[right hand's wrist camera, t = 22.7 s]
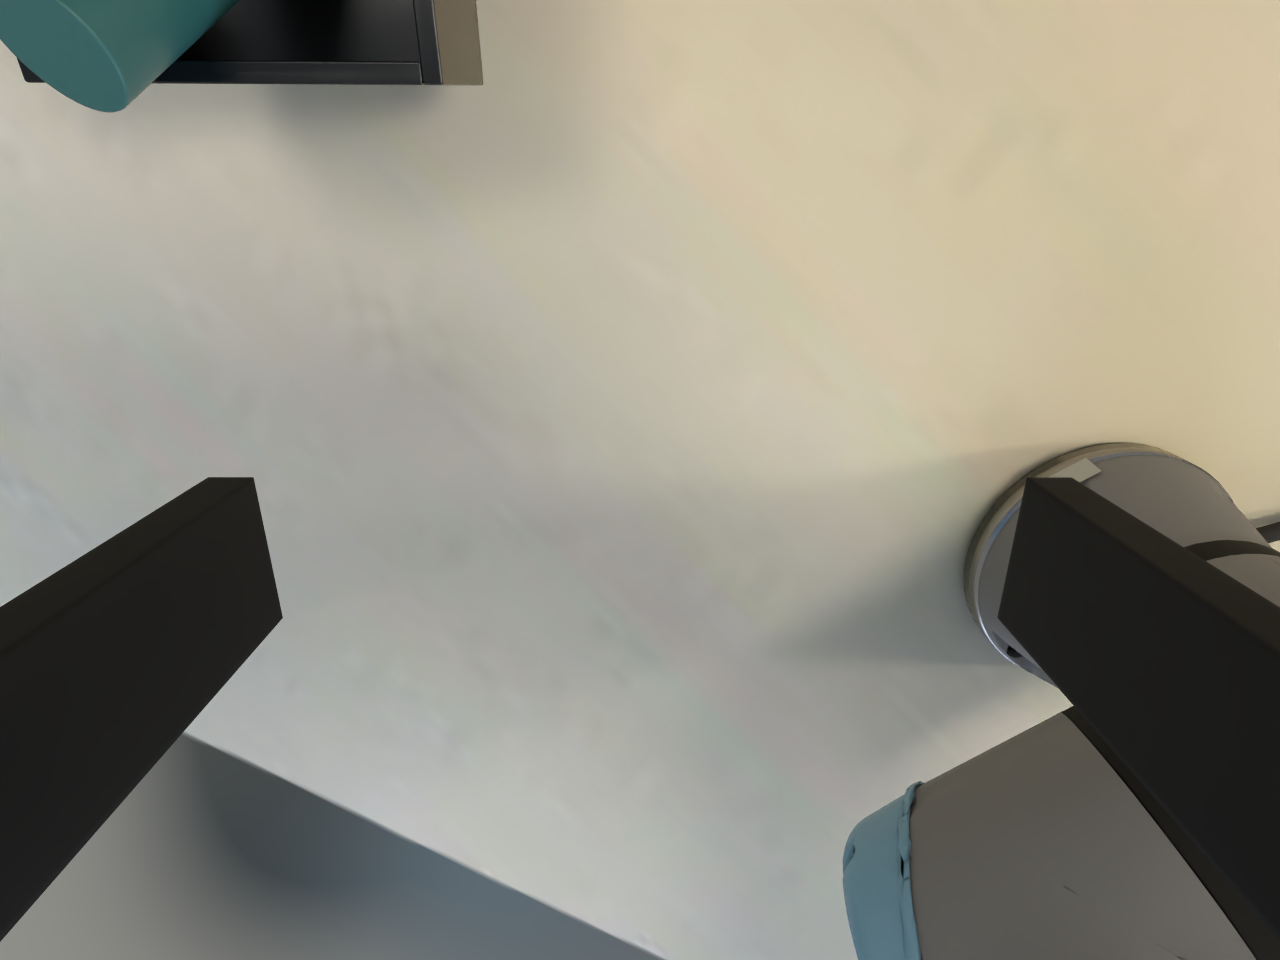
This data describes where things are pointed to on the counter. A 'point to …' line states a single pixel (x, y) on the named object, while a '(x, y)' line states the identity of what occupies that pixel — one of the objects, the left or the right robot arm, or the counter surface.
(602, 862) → the counter surface
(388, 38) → the black box with handle
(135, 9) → the teal peg
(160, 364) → the counter surface
